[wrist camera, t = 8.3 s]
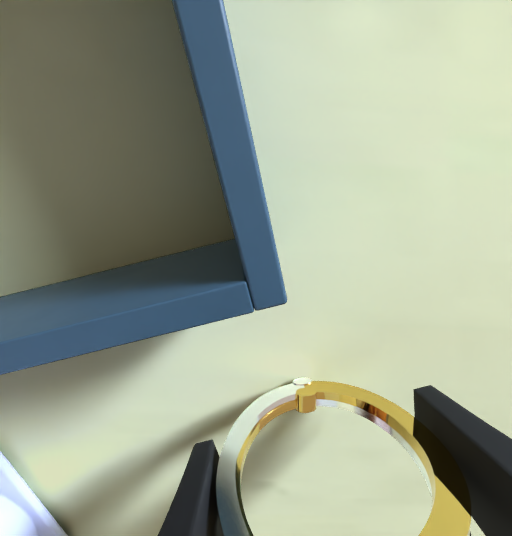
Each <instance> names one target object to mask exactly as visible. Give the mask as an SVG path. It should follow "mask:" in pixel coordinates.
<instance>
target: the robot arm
mask: <svg viewBox="0 0 512 536" xmlns="http://www.w3.org/2000/svg"><path fill="white" fill-rule="evenodd" d="M414 410H415V418H416V419H417V420H419V421H420V422H421V423H422V424H423V425H424V426H426V427H427V428H428V429H429V430H430V431H431V432H432V433H433V434H434V435H435V436H436V437H437V438H438V439H439V440H440V441H441V443H442V444H443V445H444V446H445V447H446V449H447V450H448V451H449V452H450V454H451V455H452V457H453V458H454V460H455V461H456V463H457V464H458V466H459V468H460V470H461V472H462V474H463V476H464V478H465V481H466V484H467V486H468V490H469V494H470V499H471V516H472V517H473V519H474V520H475V521H476V523H477V524H478V526H479V527H480V528H481V530H482V531H483V533H484V534H485V535H486V536H512V439H511V438H509V437H508V436H506V435H505V434H503V433H501V432H500V431H498V430H497V429H495V428H494V427H492V426H491V425H489V424H487V423H486V422H484V421H483V420H481V419H480V418H478V417H477V416H475V415H474V414H472V413H471V412H469V411H468V410H466V409H465V408H463V407H462V406H461V405H459V404H458V403H456V402H455V401H453V400H452V399H450V398H449V397H447V396H446V395H444V394H443V393H442V392H440V391H439V390H437V389H436V388H434V387H433V386H431V385H429V386H425V387H421V388H417V389H414ZM219 458H220V457H219V455H218V452H217V450H216V447H215V445H214V442H213V440H208V441H204V442H200V443H196V444H195V445H194V447H193V450H192V453H191V455H190V458H189V461H188V464H187V466H186V469H185V472H184V474H183V477H182V479H181V482H180V484H179V487H178V490H177V492H176V494H175V497H174V499H173V502H172V504H171V506H170V509H169V511H168V513H167V516H166V518H165V520H164V523H163V525H162V527H161V529H160V532H159V534H158V536H222V531H221V527H220V521H219V514H218V505H217V495H216V477H217V468H218V462H219ZM0 536H68V535H67V534H66V533H65V531H64V530H63V529H62V528H61V526H60V525H59V524H58V523H57V521H56V520H55V519H54V518H53V516H52V515H51V514H50V513H49V511H48V510H47V509H46V508H45V506H44V505H43V504H42V503H41V501H40V500H39V499H38V497H37V496H36V495H35V494H34V492H33V491H32V490H31V489H30V487H29V486H28V485H27V484H26V482H25V481H24V480H23V479H22V477H21V476H20V475H19V474H18V472H17V471H16V470H15V469H14V467H13V466H12V465H11V463H10V462H9V461H8V460H7V458H6V457H5V456H4V455H3V453H2V452H1V451H0Z"/></svg>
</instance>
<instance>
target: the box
mask: <svg viewBox="0 0 512 536" xmlns="http://www.w3.org/2000/svg"><path fill="white" fill-rule="evenodd" d="M172 3H173V7H174V11H175V15H176V18H177V22H178V26H179V30H180V33H181V37H182V41H183V45H184V48H185V52H186V56H187V60H188V63H189V67H190V71H191V75H192V79H193V82H194V86H195V90H196V94H197V97H198V101H199V105H200V109H201V112H202V116H203V120H204V124H205V127H206V131H207V135H208V139H209V142H210V146H211V150H212V154H213V157H214V161H215V165H216V169H217V173H218V176H219V180H220V184H221V188H222V191H223V195H224V199H225V203H226V206H227V210H228V214H229V218H230V221H231V225H232V229H233V233H234V236H235V239H232V240H228V241H224V242H220V243H216V244H212V245H208V246H204V247H200V248H196V249H192V250H188V251H184V252H180V253H176V254H172V255H168V256H164V257H160V258H156V259H152V260H148V261H144V262H139V263H135V264H131V265H127V266H123V267H119V268H115V269H111V270H107V271H103V272H99V273H95V274H91V275H87V276H83V277H79V278H75V279H71V280H67V281H63V282H59V283H55V284H51V285H47V286H43V287H39V288H35V289H31V290H27V291H22V292H18V293H14V294H10V295H6V296H2V297H0V375H2V374H6V373H10V372H14V371H18V370H22V369H26V368H30V367H34V366H38V365H42V364H46V363H50V362H54V361H58V360H63V359H67V358H71V357H75V356H79V355H83V354H87V353H91V352H95V351H99V350H103V349H107V348H111V347H115V346H119V345H123V344H127V343H131V342H135V341H139V340H143V339H147V338H151V337H155V336H159V335H163V334H167V333H172V332H176V331H180V330H184V329H188V328H192V327H196V326H200V325H204V324H208V323H212V322H216V321H220V320H224V319H228V318H232V317H236V316H240V315H244V314H248V313H252V312H254V309H255V310H262V309H266V308H270V307H274V306H278V305H282V304H285V303H286V302H287V296H286V291H285V287H284V282H283V277H282V273H281V268H280V263H279V259H278V254H277V249H276V245H275V240H274V235H273V231H272V226H271V221H270V217H269V212H268V207H267V203H266V198H265V193H264V189H263V184H262V179H261V175H260V170H259V165H258V161H257V156H256V152H255V147H254V142H253V138H252V133H251V128H250V124H249V119H248V114H247V110H246V105H245V100H244V96H243V91H242V86H241V82H240V77H239V72H238V68H237V63H236V58H235V54H234V49H233V44H232V40H231V35H230V30H229V26H228V21H227V16H226V12H225V7H224V2H223V0H172Z"/></svg>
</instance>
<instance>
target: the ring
mask: <svg viewBox="0 0 512 536" xmlns="http://www.w3.org/2000/svg"><path fill="white" fill-rule="evenodd" d="M316 406H329V407H336V408H340V409H344V410H348V411H351V412H353V413H356V414H358V415H361V416H363V417H365V418H367V419H369V420H370V421H372V422H374V423H375V424H377V425H378V426H380V427H381V428H383V429H384V430H385V431H387V432H388V433H389V434H390V435H391V436H392V437H394V438H395V439H396V440H397V441H398V442H399V443H400V444H401V445H402V446H403V447H404V449H405V450H406V451H407V452H408V453H409V455H410V456H411V457H412V459H413V460H414V462H415V463H416V465H417V466H418V468H419V470H420V472H421V473H422V475H423V477H424V479H425V482H426V484H427V486H428V489H429V491H430V494H431V497H432V509H431V514H430V516H429V519H428V521H427V523H426V525H425V527H424V528H423V530H422V531H421V533H420V534H419V536H471V533H470V525H471V499H470V494H469V490H468V486H467V484H466V481H465V478H464V476H463V474H462V472H461V470H460V468H459V466H458V464H457V463H456V461H455V460H454V458H453V457H452V455H451V454H450V452H449V451H448V450H447V449H446V447H445V446H444V445H443V444H442V443H441V441H440V440H439V439H438V438H437V437H436V436H435V435H434V434H433V433H432V432H431V431H430V430H429V429H428V428H427V427H426V426H424V425H423V424H422V423H421V422H420V421H419V420H417V419H416V418H415V417H414V416H412V415H411V414H409V413H408V412H407V411H405V410H404V409H402V408H401V407H399V406H398V405H396V404H394V403H393V402H391V401H389V400H387V399H385V398H383V397H381V396H379V395H377V394H375V393H372V392H370V391H367V390H364V389H362V388H358V387H355V386H351V385H347V384H342V383H336V382H327V381H312V379H311V378H308V377H300V378H296V379H294V380H293V383H292V384H288V385H284V386H281V387H278V388H276V389H273V390H271V391H269V392H267V393H265V394H264V395H262V396H261V397H259V398H258V399H256V400H255V401H254V402H253V403H251V404H250V405H249V406H248V407H247V408H246V409H245V410H244V411H243V412H242V414H241V415H240V416H239V417H238V419H237V420H236V422H235V423H234V425H233V426H232V428H231V430H230V432H229V434H228V436H227V438H226V440H225V442H224V445H223V448H222V451H221V454H220V458H219V462H218V468H217V477H216V495H217V505H218V514H219V521H220V527H221V531H222V536H253V534H252V532H251V529H250V527H249V525H248V522H247V519H246V516H245V513H244V509H243V505H242V499H241V478H242V471H243V466H244V462H245V459H246V455H247V453H248V450H249V448H250V446H251V444H252V442H253V440H254V439H255V437H256V436H257V434H258V433H259V432H260V430H261V429H262V428H263V427H264V426H265V425H266V424H267V423H268V422H270V421H271V420H272V419H274V418H275V417H277V416H279V415H280V414H283V413H285V412H287V411H290V410H293V409H296V410H297V411H298V412H301V413H309V412H312V411H314V410H315V409H316Z"/></svg>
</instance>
